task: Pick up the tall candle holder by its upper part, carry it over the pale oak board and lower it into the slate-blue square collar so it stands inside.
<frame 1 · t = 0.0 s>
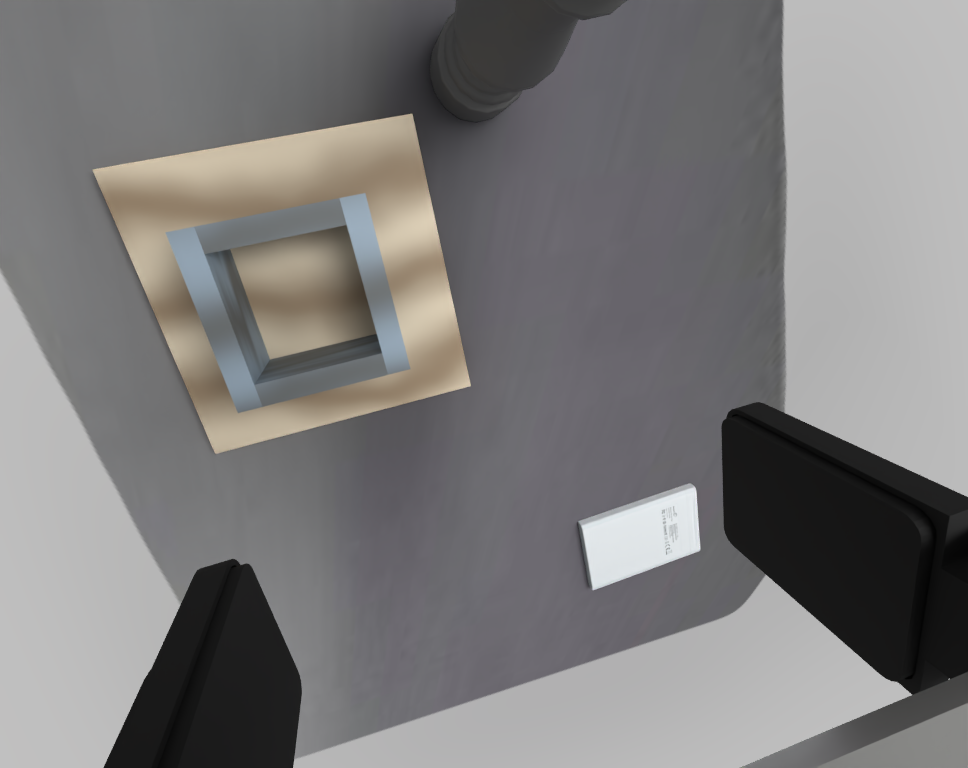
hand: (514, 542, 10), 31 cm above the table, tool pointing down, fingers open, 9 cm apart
candle holder: (473, 73, 35), on the table
socket board: (309, 290, 37), on the table
external hard drive: (635, 530, 52), on the table
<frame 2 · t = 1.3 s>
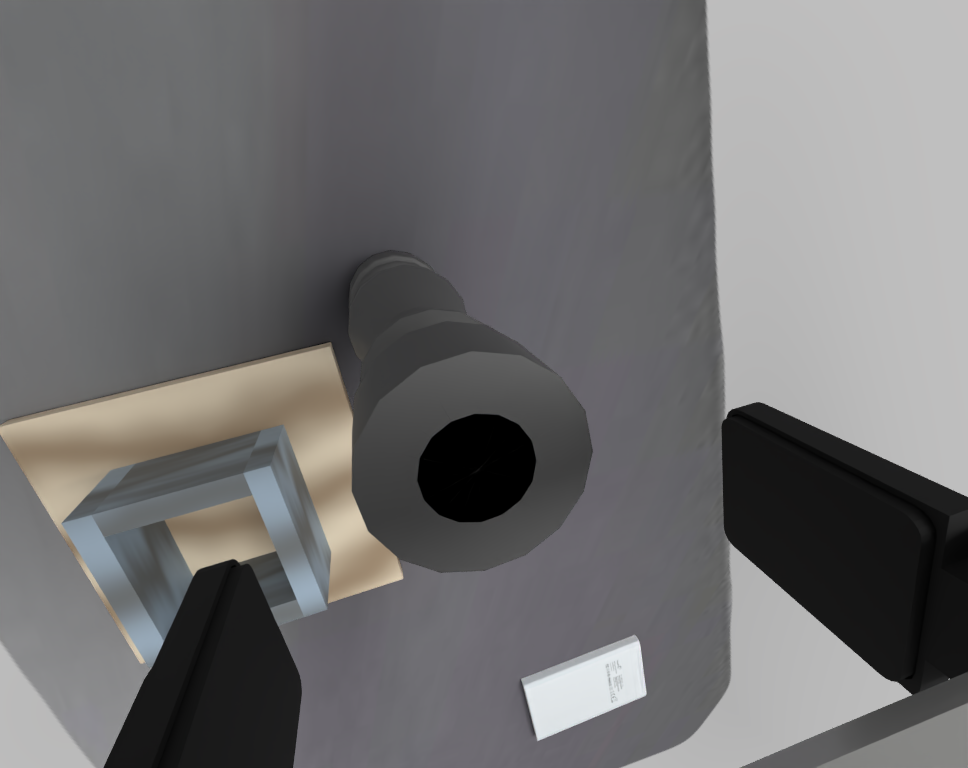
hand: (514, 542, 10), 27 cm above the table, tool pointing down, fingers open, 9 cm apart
candle holder: (395, 296, 35), on the table
socket board: (233, 505, 36), on the table
external hard drive: (581, 678, 52), on the table
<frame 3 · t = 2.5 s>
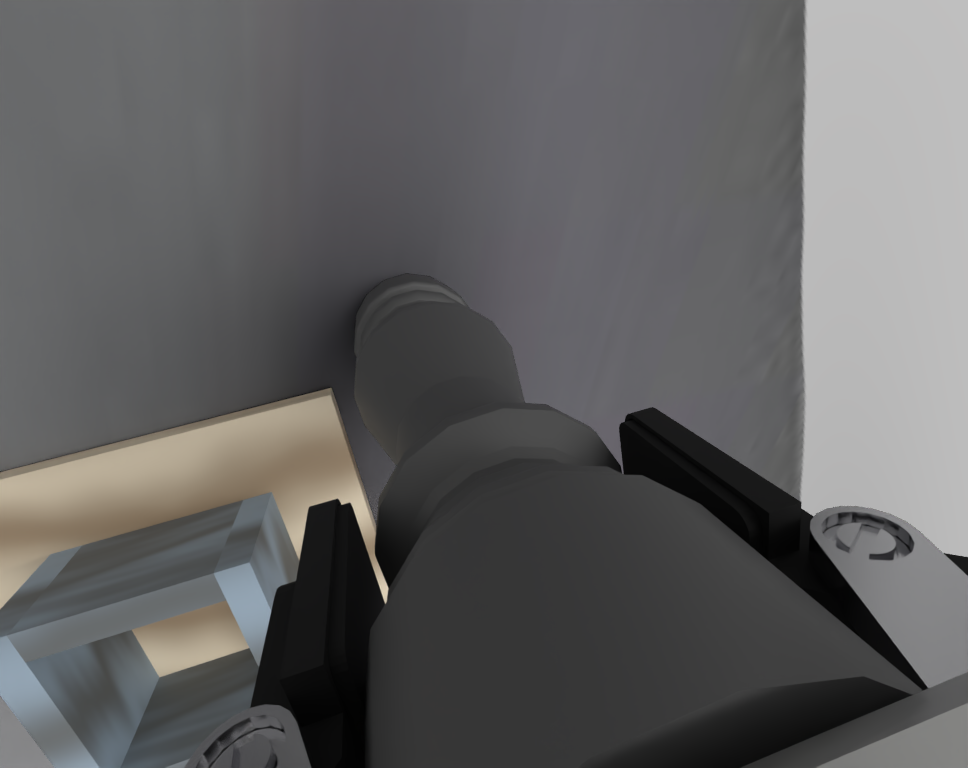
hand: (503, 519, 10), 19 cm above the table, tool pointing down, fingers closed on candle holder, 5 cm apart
candle holder: (412, 330, 28), on the table, touching gripper
socket board: (210, 587, 29), on the table
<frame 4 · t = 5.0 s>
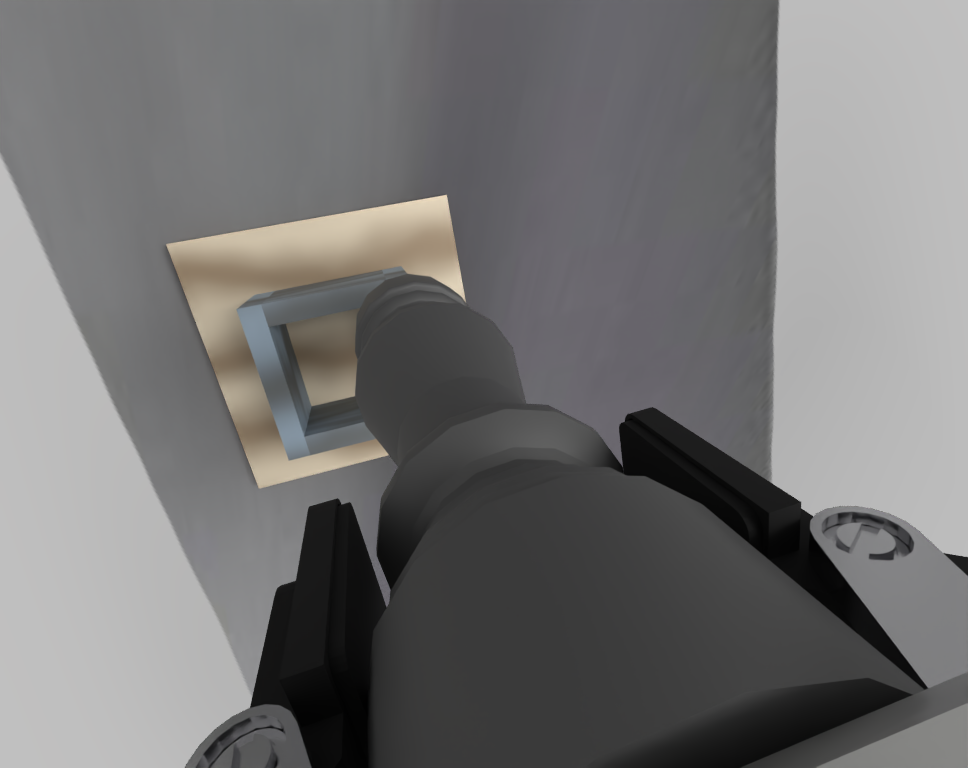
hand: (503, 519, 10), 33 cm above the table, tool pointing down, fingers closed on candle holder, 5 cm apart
candle holder: (412, 330, 28), point 14 cm above the table, touching gripper
socket board: (348, 345, 41), on the table
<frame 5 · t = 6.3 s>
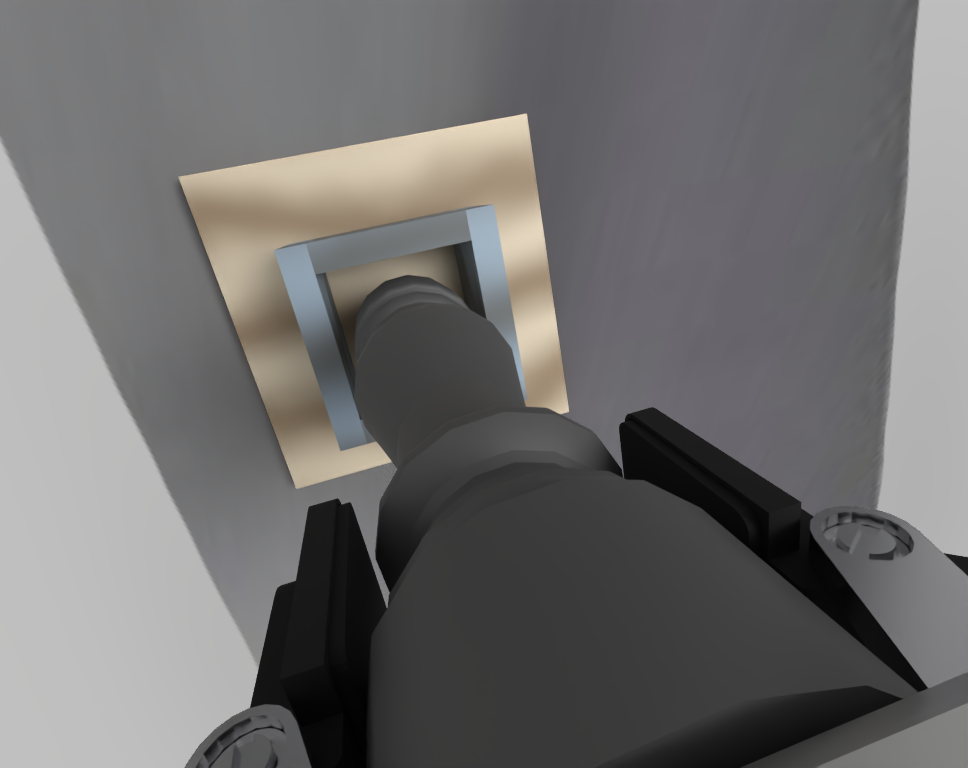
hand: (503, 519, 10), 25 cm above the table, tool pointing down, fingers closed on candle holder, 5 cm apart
candle holder: (412, 331, 28), point 6 cm above the table, touching gripper
socket board: (402, 309, 33), on the table
when the fingers open (21 cm above the table, at t = 7.6 s): candle holder drops 1 cm, resting on socket board.
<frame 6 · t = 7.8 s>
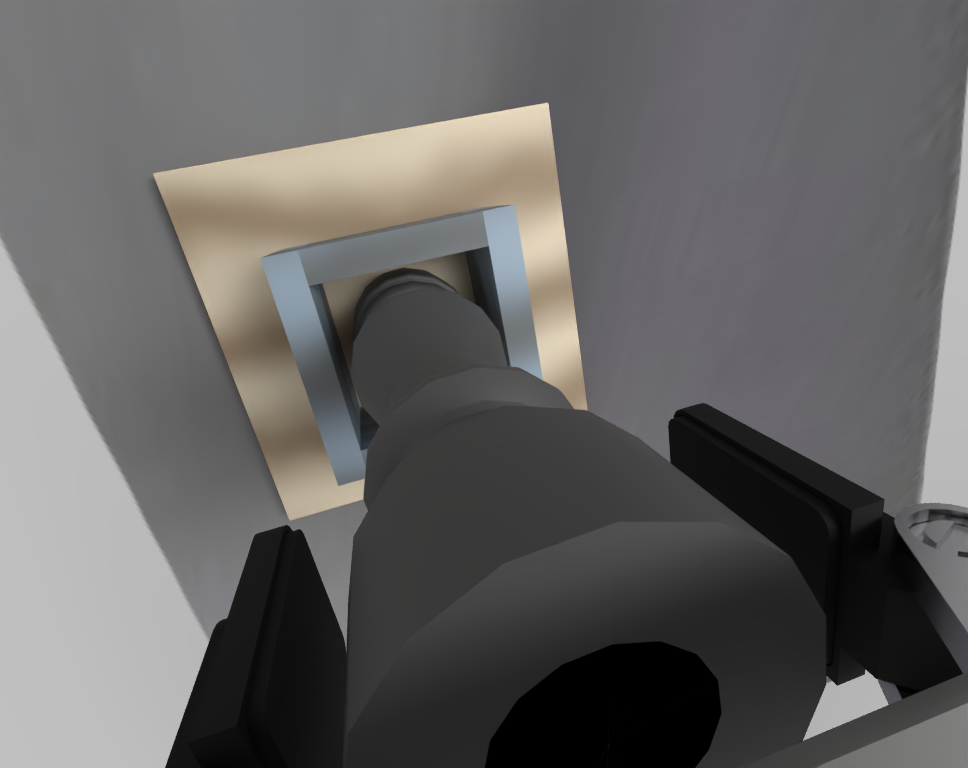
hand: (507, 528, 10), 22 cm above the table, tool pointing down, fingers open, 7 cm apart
candle holder: (409, 321, 29), point 1 cm above the table, touching socket board
socket board: (408, 322, 30), on the table
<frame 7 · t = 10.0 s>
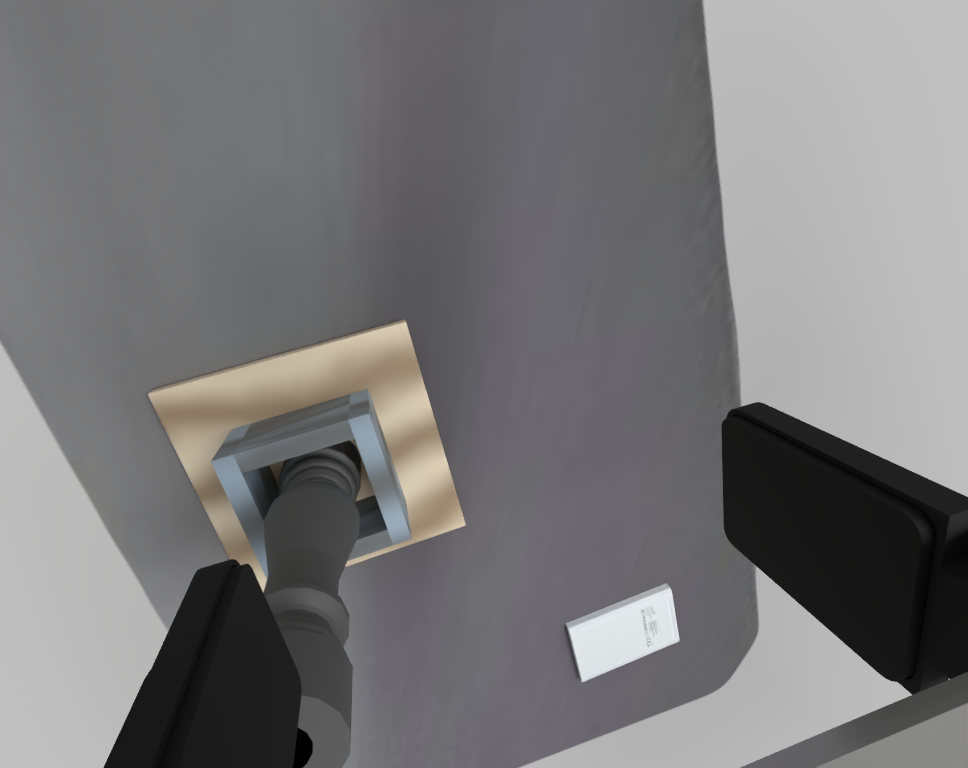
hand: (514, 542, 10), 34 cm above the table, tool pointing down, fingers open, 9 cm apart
candle holder: (323, 463, 42), point 1 cm above the table, touching socket board
socket board: (325, 460, 43), on the table
external hard drive: (619, 625, 58), on the table
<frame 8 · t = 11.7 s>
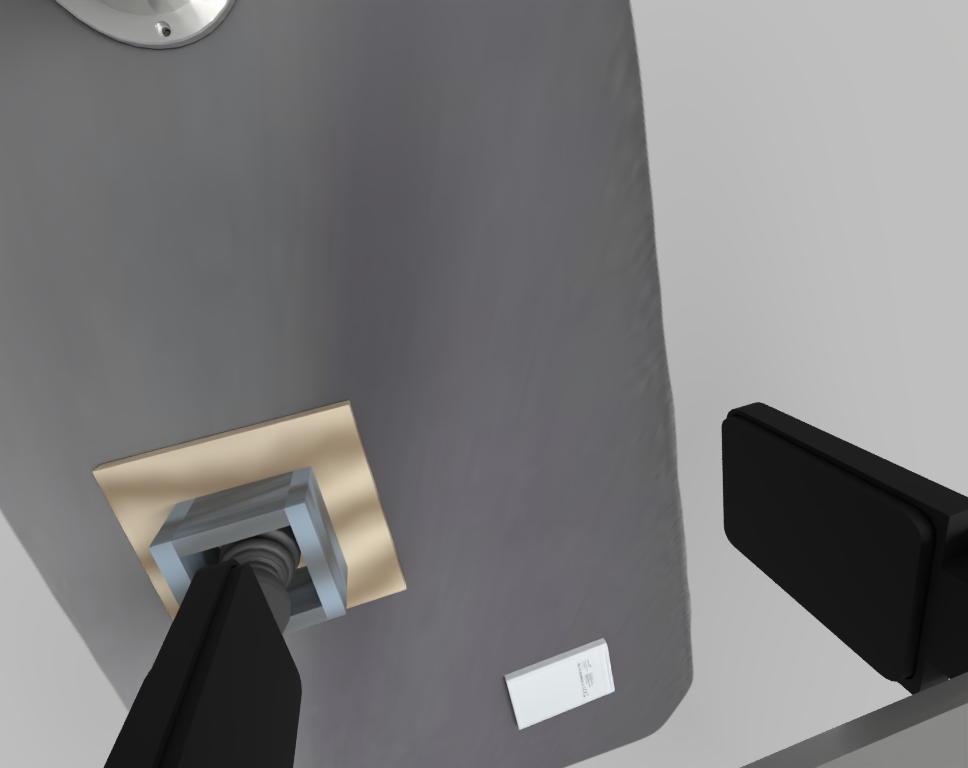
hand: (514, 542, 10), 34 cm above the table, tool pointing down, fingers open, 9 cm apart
candle holder: (267, 534, 44), point 1 cm above the table, touching socket board
socket board: (269, 529, 45), on the table
external hard drive: (557, 675, 60), on the table
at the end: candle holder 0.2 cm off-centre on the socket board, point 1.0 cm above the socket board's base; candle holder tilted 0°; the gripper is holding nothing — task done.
